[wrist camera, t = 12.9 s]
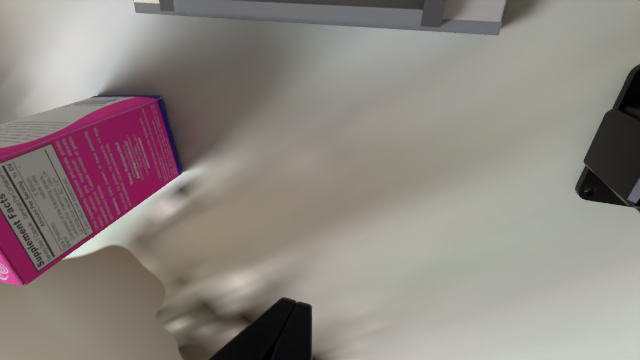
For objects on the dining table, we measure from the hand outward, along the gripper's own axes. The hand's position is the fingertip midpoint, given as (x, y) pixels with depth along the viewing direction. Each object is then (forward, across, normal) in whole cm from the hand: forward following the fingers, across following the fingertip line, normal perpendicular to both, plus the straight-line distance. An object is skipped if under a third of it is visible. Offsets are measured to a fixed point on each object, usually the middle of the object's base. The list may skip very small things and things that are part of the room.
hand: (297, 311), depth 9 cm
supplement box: (+12, +16, +2) cm, 20 cm away
